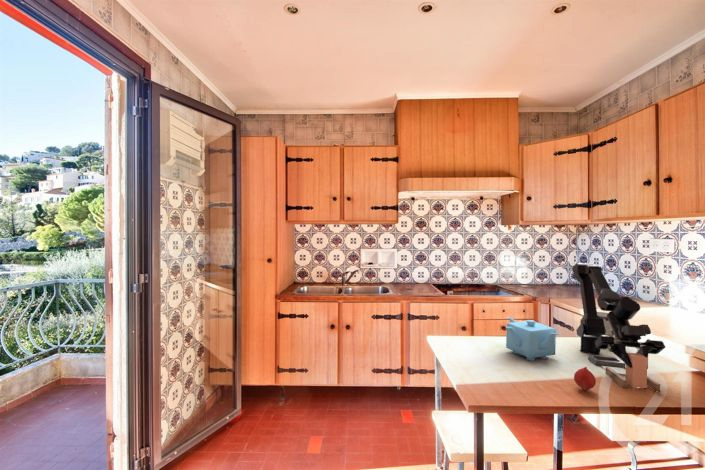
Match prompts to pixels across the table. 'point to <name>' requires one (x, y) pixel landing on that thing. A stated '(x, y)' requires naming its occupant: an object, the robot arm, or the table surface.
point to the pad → (617, 370)
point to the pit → (606, 361)
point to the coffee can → (606, 324)
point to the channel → (623, 382)
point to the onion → (584, 379)
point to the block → (637, 371)
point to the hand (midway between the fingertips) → (638, 368)
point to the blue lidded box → (530, 339)
